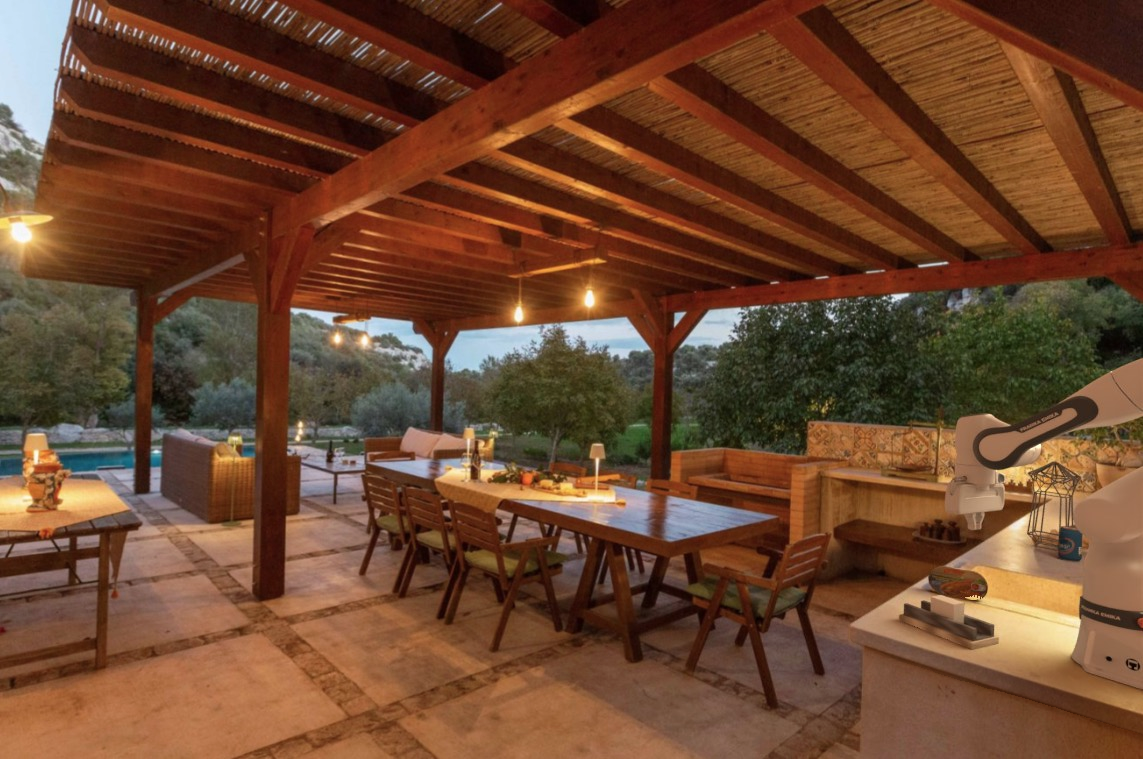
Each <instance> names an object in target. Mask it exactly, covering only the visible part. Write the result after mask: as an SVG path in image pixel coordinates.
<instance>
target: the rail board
mask: <svg viewBox="0 0 1143 759" xmlns="http://www.w3.org/2000/svg"><path fill="white" fill-rule="evenodd" d="M898 620H900V622H902V623H904V622H905V623H904V624H907V625H909V624H910V626H912V625H913V626H912V627H914V626H915V628H917V627H918V628H917V629H919V628H920V629H919V630H921V631H925V632H928V633H930V634H933V635H935V636H937V635H938V637H940V636H941V637H940V638H942V637H943V639H945V638H946V639H945V640H947V639H948V641H950V642H952V643H956V644H958V645H961V646H962V647H965V648H967V649H970V650H976V649H979V648H985V647H989V646H993V645H997V644H999V641H1000V637H999V636H996V635H995V624H994V623H990V622H987V621H984V620H981V619H979V618H976V617H972V616H970V615H968V614H965V613H964V624H963V623H960V622H957V621H955V620H952V619H949V618H946V617H944V616H941V615H938V614H935V613H933V612H931V601H927V600H921V601H920V607H919V606H916V605H913V604H911V603H908V602H907V603H903V613H902V614H901V613H900V614H899V615H898Z"/></svg>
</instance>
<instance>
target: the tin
mask: <svg viewBox="0 0 1143 759" xmlns="http://www.w3.org/2000/svg"><path fill="white" fill-rule="evenodd" d="M928 584H929V586H930V588H932V590H933V591H934V592H935V593H937V594H939V595H942V596H945V597H951V598H958V599H962V600H966V598H965V597H970V596H971V597H972V596H973V595H974V597H975V595H977V598H978V596H980V600H982V599H984V598H985V597H986V595H987V594H988V591H989V584H988V582H987V579H985V577H984V576H983V575H982V574H981V573H979V572H977V571H975V570H970V569H965V568H957V567H953V566H947V565H938V566H935V567H934V568H932V569H931V570H930V571H929V573H928ZM981 597H982V599H981Z"/></svg>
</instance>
